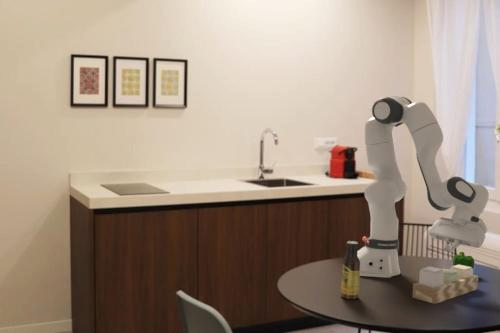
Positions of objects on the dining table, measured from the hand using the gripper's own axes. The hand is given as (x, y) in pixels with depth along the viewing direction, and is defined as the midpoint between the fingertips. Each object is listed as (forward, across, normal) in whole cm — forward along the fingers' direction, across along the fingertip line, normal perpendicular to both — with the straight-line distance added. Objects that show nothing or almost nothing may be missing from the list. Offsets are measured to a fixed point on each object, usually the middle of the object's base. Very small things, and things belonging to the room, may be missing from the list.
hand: (447, 250), depth 222 cm
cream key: (+3, 0, +18) cm, 18 cm away
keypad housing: (+11, 0, +11) cm, 16 cm away
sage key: (+10, 0, +11) cm, 15 cm away
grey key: (+16, 0, +2) cm, 16 cm away
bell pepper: (-9, -9, +32) cm, 34 cm away
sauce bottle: (+34, -18, -11) cm, 40 cm away
